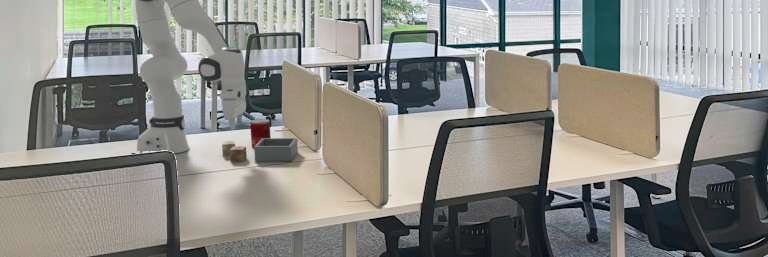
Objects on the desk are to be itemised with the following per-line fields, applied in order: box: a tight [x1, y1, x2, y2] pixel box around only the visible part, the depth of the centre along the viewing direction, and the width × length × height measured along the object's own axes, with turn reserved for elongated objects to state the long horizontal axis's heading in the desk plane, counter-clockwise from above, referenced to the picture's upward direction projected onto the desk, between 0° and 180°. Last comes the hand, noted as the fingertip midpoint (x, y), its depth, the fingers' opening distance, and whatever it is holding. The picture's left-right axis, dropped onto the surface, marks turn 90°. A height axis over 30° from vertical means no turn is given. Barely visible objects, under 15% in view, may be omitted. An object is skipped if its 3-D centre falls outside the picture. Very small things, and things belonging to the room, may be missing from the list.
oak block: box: [221, 140, 236, 158], centre depth 284 cm, size 5×5×5 cm
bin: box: [253, 137, 299, 163], centre depth 278 cm, size 14×14×6 cm
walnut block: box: [229, 145, 248, 163], centre depth 275 cm, size 5×5×5 cm
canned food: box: [250, 118, 271, 149], centre depth 295 cm, size 8×8×11 cm
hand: (236, 126), depth 272 cm, fingers open, 8 cm apart
